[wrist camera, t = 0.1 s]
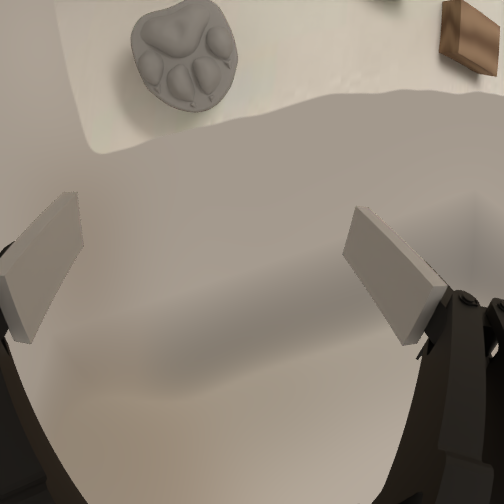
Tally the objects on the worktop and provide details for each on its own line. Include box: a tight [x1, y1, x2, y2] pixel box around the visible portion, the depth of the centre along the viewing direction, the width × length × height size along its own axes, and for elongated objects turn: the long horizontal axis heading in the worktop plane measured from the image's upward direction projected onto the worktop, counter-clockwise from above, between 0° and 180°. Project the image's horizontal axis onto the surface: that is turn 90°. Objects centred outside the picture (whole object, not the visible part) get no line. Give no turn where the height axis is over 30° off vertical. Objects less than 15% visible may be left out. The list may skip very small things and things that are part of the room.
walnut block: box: [439, 0, 500, 77], centre depth 30 cm, size 10×10×5 cm
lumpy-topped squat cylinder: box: [131, 0, 238, 112], centre depth 29 cm, size 10×13×9 cm
